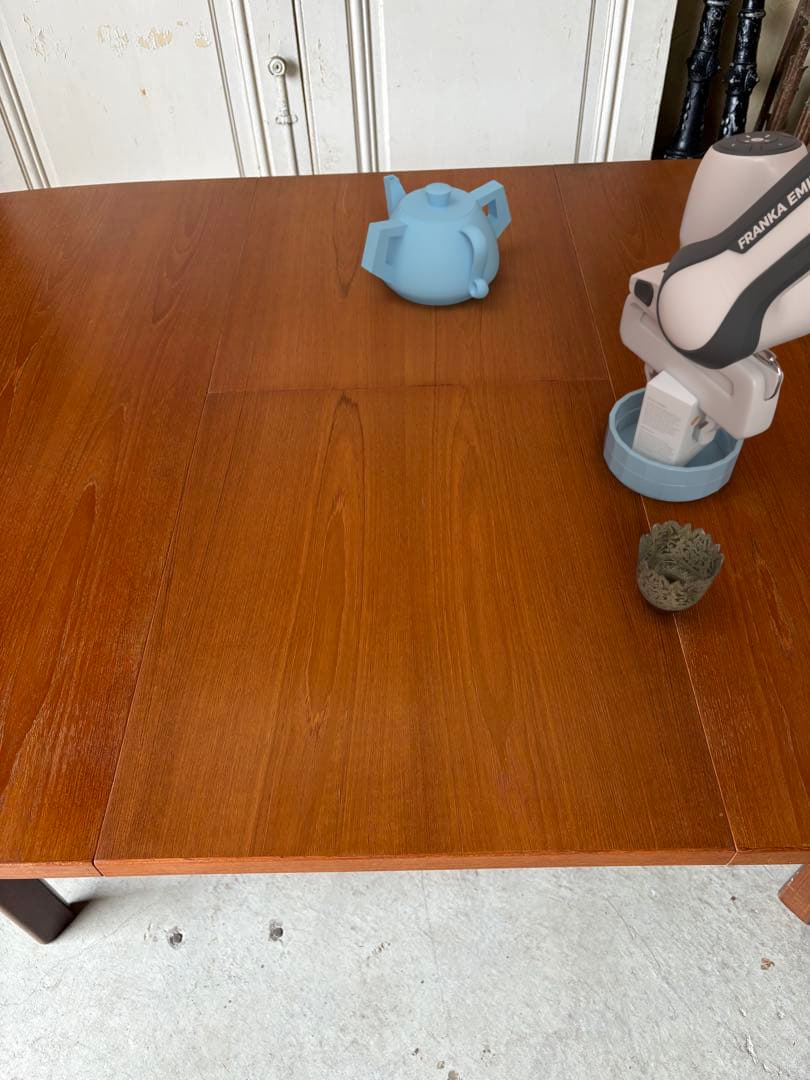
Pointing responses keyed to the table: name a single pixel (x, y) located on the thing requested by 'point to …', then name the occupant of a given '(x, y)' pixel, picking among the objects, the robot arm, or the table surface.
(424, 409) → the table surface
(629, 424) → the bowl
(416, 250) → the teapot
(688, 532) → the cup
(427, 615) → the table surface
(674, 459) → the small box
